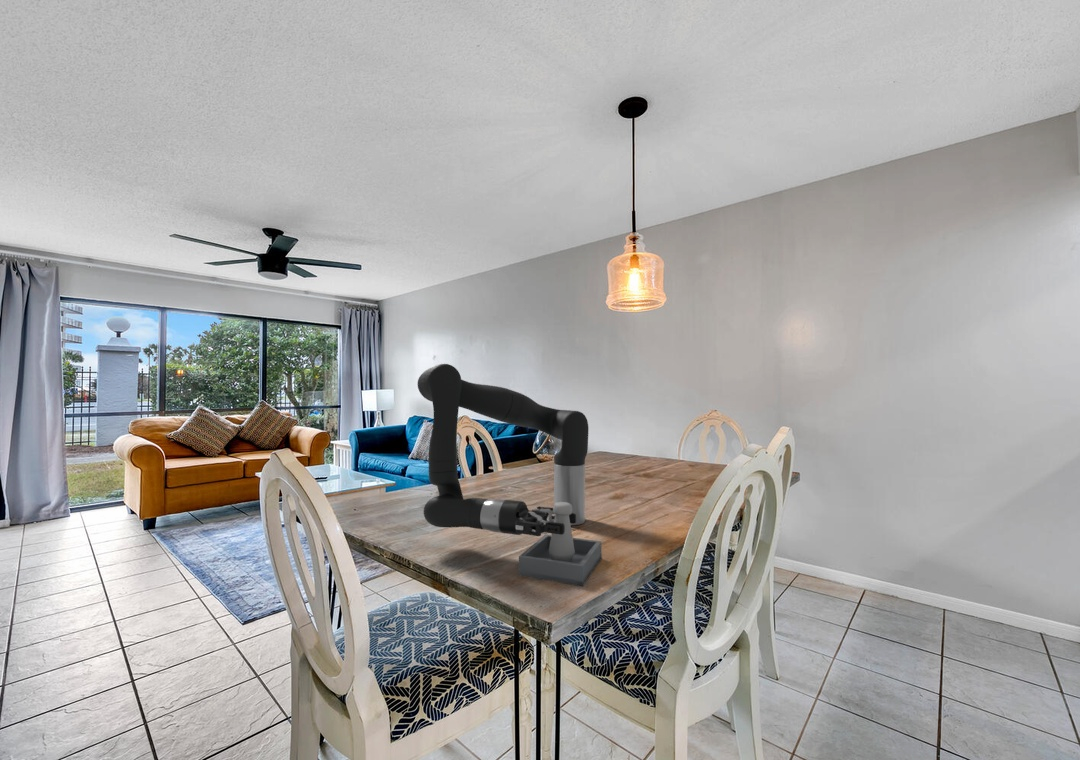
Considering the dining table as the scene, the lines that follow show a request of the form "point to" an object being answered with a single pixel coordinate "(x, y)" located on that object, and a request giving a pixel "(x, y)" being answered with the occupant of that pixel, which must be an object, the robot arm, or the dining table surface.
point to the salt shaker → (562, 544)
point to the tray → (560, 562)
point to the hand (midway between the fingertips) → (570, 523)
